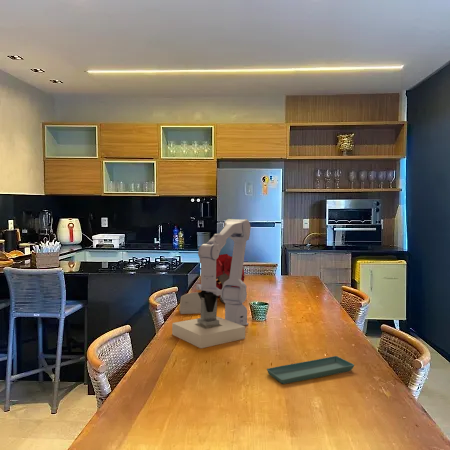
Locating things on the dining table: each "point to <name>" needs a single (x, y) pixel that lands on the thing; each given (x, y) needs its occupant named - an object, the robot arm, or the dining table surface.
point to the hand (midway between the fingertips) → (208, 311)
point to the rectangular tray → (310, 369)
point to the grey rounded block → (190, 303)
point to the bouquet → (224, 271)
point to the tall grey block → (207, 314)
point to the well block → (208, 332)
